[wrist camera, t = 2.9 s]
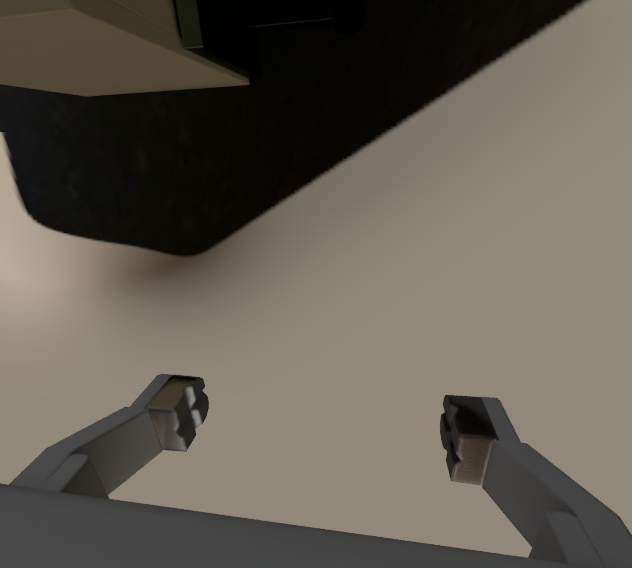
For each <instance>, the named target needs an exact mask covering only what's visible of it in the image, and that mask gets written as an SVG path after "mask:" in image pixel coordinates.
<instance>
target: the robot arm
mask: <svg viewBox="0 0 632 568" xmlns="http://www.w3.org/2000/svg"><path fill="white" fill-rule="evenodd" d="M204 387H205V384H204V381H203V379H202V378H200V377H192V376H182V375H168V374H160V375H158V376H157V377H156V378H155V379H154V380H153V381H152V382H151V383H150V384H149V386H148V387H147V388H146V389H145V390H144V391H143V392H142V394H141V395H140V396H139V397H138V398H137V399H136V401H134V403H133V404H132V405H131V406H130V407H124V408H122V409H120V410H118V411H117V412H115V413H113V414H111V415H109V416H107V417H105V418H103V419H102V420H99V421H97V422H96V423H94V424H92V425H90V426H88V427H86V428H84V429H82V430H80V431H78V432H77V433H75V434H73V435H71V436H69V437H67V438H65V439H63V440H61V441H60V442H58V443H56V444H54V445H52V446H50V447H48V448H46V449H45V450H44V451H43V452H42V453H41V454H40V455H39V456H38V457H37V458H36V459H35V460H34V461H33V462H32V463H31V464H30V465H29V466H28V467H27V468H26V469H25V470H24V471H23V472H21V474H20V475H18V476H17V477H16V478H15V479H14V480H13V481H12V482H11V483H10V484H9V485H6V484H0V568H632V535H631V533H630V532H629V530H628V529H627V527H626V526H625V525H624V523H623V521H622V520H621V518H620V517H619V516H618V515H617V514H616V513H614V512H613V511H612V510H611V509H609V508H608V507H607V506H605V505H604V504H603V503H602V502H600V501H599V500H598V499H597V498H595V497H594V496H593V495H591V494H590V493H589V492H588V491H586V490H585V489H584V488H583V487H581V486H580V485H579V484H577V483H576V482H575V481H574V480H572V479H571V478H570V477H569V476H567V475H566V474H565V473H564V472H562V471H561V470H560V469H559V468H557V467H556V466H554V465H553V464H552V463H551V462H550V461H548V460H547V459H546V458H544V457H543V456H542V455H541V454H539V453H538V452H537V451H536V450H534V449H533V448H532V447H530V446H529V445H528V444H527V443H521V442H520V440H519V438H518V436H517V434H516V432H515V430H514V428H513V426H512V424H511V422H510V420H509V418H508V416H507V414H506V412H505V410H504V408H503V406H502V404H501V402H500V400H499V399H498V398H489V397H468V396H454V395H445V397H444V401H443V406H444V410H445V413H443V414H442V415H441V421H440V434H441V440H442V444H443V447H444V448H445V449H446V450H447V457H446V462H447V466H448V470H449V474H450V478H451V481H454V482H462V483H470V484H476V485H482V487H483V489H484V490H485V491H486V492H487V493H488V494H489V496H490V497H491V498H492V499H493V501H494V502H495V503H496V504H497V505H498V507H499V508H500V509H501V510H502V511H503V513H504V514H505V515H506V516H507V518H508V519H509V520H510V521H511V522H512V524H513V525H514V526H515V527H516V528H517V530H518V531H519V532H520V533H521V534H522V536H523V537H524V538H525V539H526V540H527V542H528V543H529V544H530V545H531V546H532V550H531V552H530V555H529V557H528V558H525V557H517V556H510V555H503V554H497V553H489V552H482V551H475V550H467V549H461V548H454V547H447V546H440V545H433V544H425V543H418V542H411V541H404V540H396V539H390V538H383V537H376V536H368V535H361V534H354V533H347V532H340V531H332V530H325V529H319V528H311V527H304V526H297V525H290V524H283V523H275V522H268V521H261V520H254V519H247V518H239V517H232V516H225V515H218V514H211V513H205V512H198V511H191V510H184V509H177V508H170V507H162V506H155V505H149V504H141V503H134V502H127V501H120V500H113V499H109V497H108V495H109V494H110V493H111V492H112V491H114V490H115V489H116V488H117V487H119V486H120V485H121V484H122V483H123V482H125V481H126V480H127V479H128V478H130V477H131V476H132V475H133V474H135V473H136V472H137V471H138V470H140V469H141V468H142V467H143V466H144V465H146V464H147V463H148V462H149V461H150V460H152V459H153V458H154V457H156V456H157V455H158V454H159V453H161V452H162V450H173V451H184V452H186V451H187V449H188V448H189V446H190V444H191V443H192V441H193V439H194V437H195V436H196V431H195V428H197V427H198V426H200V425H201V424H203V422H204V420H205V418H206V416H207V412H208V408H209V401H208V397H207V395H206V394H205V393H204V392H203V391H202V390H203V389H204Z"/></svg>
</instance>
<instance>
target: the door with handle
mask: <svg viewBox="0 0 632 568" xmlns="http://www.w3.org/2000/svg"><path fill="white" fill-rule="evenodd" d="M174 5H175V11H176V17H177V23H178V28H179V34H180V36H179V37H181V38H182V41H183V47H184V49H186V50H188V51H190V52H192V53H194V54H197V55H199V56H201V57H203V58H205V59H207V60H209V61H212V62H214V63H216V64H218V65H220V66H222V67H224V68H226V69H229V70H231V71H233V72H235V73H237V74H239V75H241V76H244V77H246V78H248V79H255V78H261V67H260V56H259V45H258V34H257V33H259V32H269V31H280V30H290V29H300V28H310V27H321V26H331V25H334V27H335V29H336V30H337V31H338V32H339V33H340V34H342V35H351V34H354V33H355V32H357V31H358V30H359V28H360V27H361V25H362V23H363V20H364V0H270V1H261V2H254V0H174Z"/></svg>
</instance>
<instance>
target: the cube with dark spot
mask: <svg viewBox="0 0 632 568" xmlns="http://www.w3.org/2000/svg"><path fill="white" fill-rule="evenodd" d="M179 36H180V34H179V28H178V23H177V17H176V11H175V5H174V0H0V84H4V85H11V86H18V87H25V88H32V89H39V90H46V91H53V92H60V93H67V94H74V95H81V96H99V95H113V94H127V93H141V92H155V91H169V90H183V89H197V88H211V87H225V86H239V85H249V84H250V83H249V79H248V78H246V77H244V76H241V75H239V74H237V73H235V72H233V71H231V70H229V69H226V68H224V67H222V66H220V65H218V64H216V63H214V62H212V61H209V60H207V59H205V58H203V57H201V56H199V55H197V54H194V53H192V52H190V51H188V50H186V49H184V47H183V41H182V38H181V37H179Z"/></svg>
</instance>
